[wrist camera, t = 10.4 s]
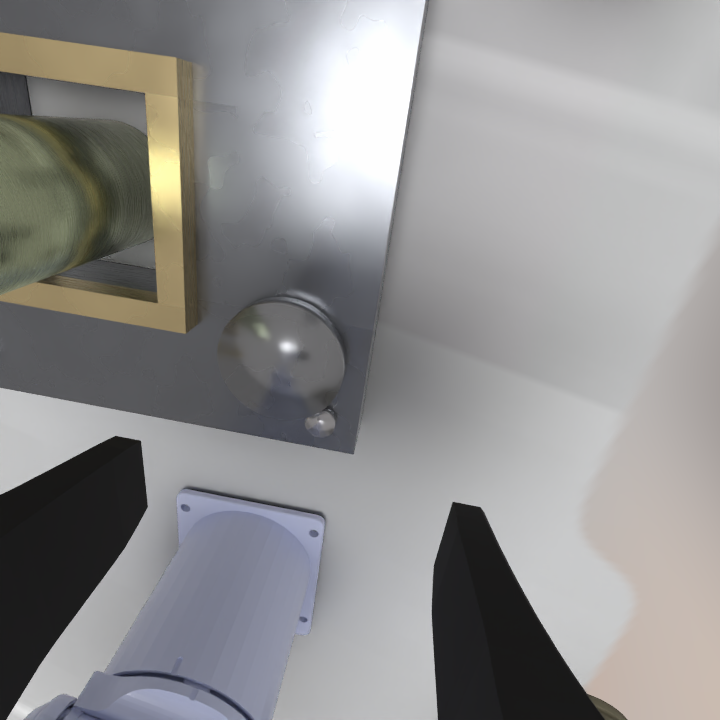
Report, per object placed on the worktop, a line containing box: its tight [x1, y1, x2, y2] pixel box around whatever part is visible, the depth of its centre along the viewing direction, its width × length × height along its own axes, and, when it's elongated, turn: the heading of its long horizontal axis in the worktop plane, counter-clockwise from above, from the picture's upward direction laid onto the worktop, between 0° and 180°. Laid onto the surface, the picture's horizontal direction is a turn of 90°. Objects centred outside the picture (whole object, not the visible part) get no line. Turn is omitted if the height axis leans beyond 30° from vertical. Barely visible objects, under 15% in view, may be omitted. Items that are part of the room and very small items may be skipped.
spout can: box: [0, 114, 154, 295], centre depth 14 cm, size 5×5×10 cm
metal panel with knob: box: [0, 0, 429, 454], centre depth 17 cm, size 18×18×4 cm
